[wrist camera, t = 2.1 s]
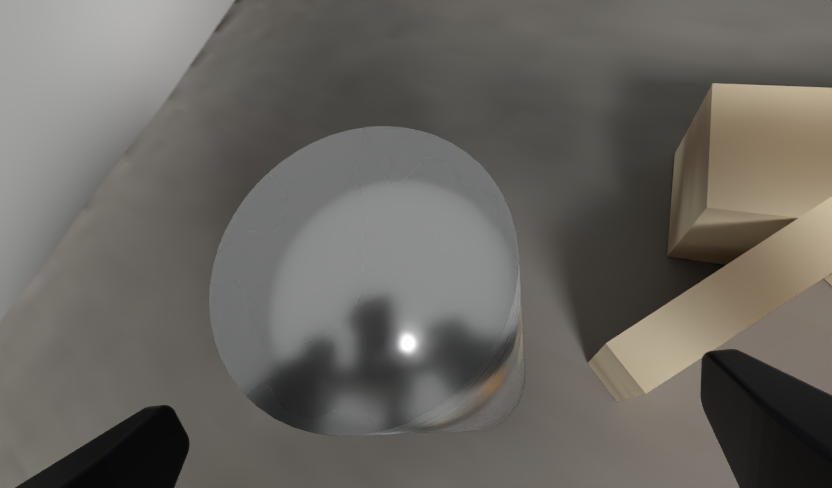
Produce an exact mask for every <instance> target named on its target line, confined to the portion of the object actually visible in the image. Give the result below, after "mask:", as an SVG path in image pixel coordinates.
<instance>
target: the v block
mask: <svg viewBox="0 0 832 488" xmlns="http://www.w3.org/2000/svg"><path fill="white" fill-rule="evenodd" d="M667 257H674V258H681V259H688V260H695V261H702V262H709V263H716V264H723V265H726V266H724V267H722V268H721V269H719V270H718V271H716V272H715V273H713V274H712V275H710V276H709V277H707V278H705V279H704V280H702V281H701V282H699V283H698V284H696V285H695V286H693V287H692V288H690V289H689V290H687V291H685V292H684V293H682V294H681V295H679V296H678V297H676V298H675V299H673V300H672V301H670V302H669V303H667V304H665V305H664V306H662V307H661V308H659V309H658V310H656V311H655V312H653V313H652V314H650V315H649V316H647V317H645V318H644V319H642V320H641V321H639V322H638V323H636V324H635V325H633V326H632V327H630V328H629V329H627V330H625V331H624V332H622V333H621V334H619V335H618V336H616V337H615V338H613V339H612V340H610V341H609V342H607V343H606V344H605V345H604V346H603V347H602V348H601V349H600V350H599V351H598V352H597V353H596V355H595V356H594V357H593V358H592V359H591V360H590V361H589V362H588V364H589V366H590V367H591V368H592V370H593V371H594V372H595V373H596V375H597V376H598V377H599V379H600V380H601V381H602V383H603V384H604V385H605V387H606V388H607V389H608V391H609V392H610V393H611V395H612V396H613V397H614V399H615V400H616V401H617V402H620V401H623V400H627V399H630V398H634V397H637V396H640V395H644V394H646V393H648V392H650V391H651V390H653V389H654V388H656V387H657V386H659V385H660V384H662V383H663V382H665V381H666V380H668V379H669V378H671V377H673V376H674V375H676V374H677V373H679V372H680V371H682V370H683V369H685V368H686V367H688V366H689V365H691V364H692V363H694V362H696V361H697V360H699V359H700V358H702V357H703V355H704V354H705V353H706V352H708V351H712V350H714V349H715V348H717V347H719V346H720V345H722V344H723V343H725V342H726V341H728V340H729V339H731V338H732V337H734V336H735V335H737V334H738V333H740V332H742V331H743V330H745V329H746V328H748V327H749V326H751V325H752V324H754V323H755V322H757V321H758V320H760V319H761V318H763V317H764V316H766V315H768V314H769V313H771V312H772V311H774V310H775V309H777V308H778V307H780V306H781V305H783V304H784V303H786V302H787V301H789V300H791V299H792V298H794V297H795V296H797V295H798V294H800V293H801V292H803V291H804V290H806V289H807V288H809V287H810V286H812V285H814V284H815V283H817V282H818V281H820V280H821V279H824V280H826V281H827V282H828V283H829V284H830V285H831V286H832V88H824V87H797V86H771V85H744V84H718V83H712V85H711V87H710V89H709V91H708V93H707V94H706V96H705V98H704V100H703V102H702V104H701V106H700V108H699V109H698V111H697V113H696V115H695V117H694V119H693V121H692V122H691V124H690V126H689V128H688V130H687V132H686V134H685V136H684V137H683V139H682V141H681V143H680V145H679V147H678V149H677V151H676V152H675V157H674V171H673V184H672V198H671V211H670V224H669V238H668V251H667Z"/></svg>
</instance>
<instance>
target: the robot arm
mask: <svg viewBox="0 0 832 488" xmlns="http://www.w3.org/2000/svg"><path fill="white" fill-rule="evenodd" d="M701 402H702V406H703V409H704V411H705V414H706V416H707V418H708V420H709V422H710V425H711V427H712V429H713V431H714V433H715V435H716V438H717V440H718V442H719V444H720V446H721V448H722V450H723V453H724V455H725V457H726V459H727V461H728V463H729V465H730V468H731V470H732V472H733V474H734V476H735V478H736V481H737V483H738V485H739V487H740V488H832V395H830V394H828V393H826V392H824V391H822V390H820V389H818V388H815V387H813V386H811V385H809V384H807V383H805V382H803V381H801V380H799V379H797V378H795V377H793V376H791V375H789V374H787V373H784V372H782V371H780V370H778V369H776V368H774V367H772V366H770V365H768V364H766V363H764V362H762V361H760V360H758V359H756V358H754V357H751V356H749V355H747V354H745V353H743V352H741V351H739V350H735V349H727V350H717V351H708V352H706V353H705V354H704V355H703V357H702V368H701ZM188 451H189V437H188V435H187V433H186V431H185V430H184V428H183V426H182V424H181V422H180V420H179V418H178V416H177V415H176V413H175V411H174V409H173V408H171V407H170V406H167V405H160V406H151V407H147V408H144V409H142V410H141V411H139V412H137V413H136V414H134V415H132V416H131V417H129V418H128V419H126V420H124V421H123V422H121V423H119V424H118V425H116V426H115V427H113V428H111V429H110V430H108V431H106V432H105V433H103V434H102V435H100V436H98V437H97V438H95V439H93V440H92V441H90V442H89V443H87V444H85V445H84V446H82V447H80V448H79V449H77V450H76V451H74V452H72V453H71V454H69V455H67V456H66V457H64V458H63V459H61V460H59V461H58V462H56V463H54V464H53V465H51V466H50V467H48V468H46V469H45V470H43V471H41V472H40V473H38V474H37V475H35V476H33V477H32V478H30V479H28V480H27V481H25V482H24V483H22V484H20V485H19V486H17V487H15V488H174V487H175V484H176V482H177V479H178V477H179V474H180V471H181V469H182V466H183V464H184V461H185V459H186V456H187V454H188Z"/></svg>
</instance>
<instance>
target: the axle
mask: <svg viewBox="0 0 832 488" xmlns="http://www.w3.org/2000/svg"><path fill="white" fill-rule="evenodd" d="M209 310H210V321H211V327H212V332H213V336H214V341H215V344H216V347H217V349H218V352H219V355H220V357H221V360H222V362H223V364H224V366H225V367H226V369H227V371H228V373H229V375H230V376H231V378H232V379H233V381H234V382H235V383H236V384H237V386H238V387H239V388H240V390H241V391H242V392H243V393H244V394H245V395H246V396H247V397H248V398H249V399H250V400H251V401H252V402H253V403H254V404H255V405H256V406H257V407H259V408H260V409H262V410H263V411H265V412H266V413H268V414H269V415H270V416H272V417H273V418H275V419H277V420H279V421H281V422H284V423H286V424H288V425H290V426H292V427H295V428H298V429H302V430H305V431H308V432H312V433H317V434H325V435H333V436H355V435H382V434H407V433H432V432H458V431H478V430H484V429H487V428H490V427H492V426H494V425H497V424H498V423H500V422H501V421H503V420H504V419H505V418H506V417H507V416H509V415H510V413H511V412H512V411H513V410H514V409H515V407H516V405H517V404H518V402H519V400H520V397H521V395H522V392H523V388H524V382H525V367H524V347H523V327H522V308H521V288H520V268H519V251H518V243H517V235H516V230H515V226H514V223H513V219H512V215H511V212H510V210H509V208H508V205H507V203H506V201H505V199H504V196H503V194H502V193H501V191H500V189H499V188H498V186H497V185H496V183H495V182H494V180H493V178H492V177H491V176H490V175H489V174H488V173H487V172H486V170H485V169H484V168H483V167H482V166H481V165H480V164H479V163H478V162H477V161H476V160H475V159H474V158H472V157H471V156H470V155H469V154H468V153H467V152H465V151H463V150H462V149H460V148H459V147H457V146H456V145H454V144H453V143H451V142H449V141H447V140H444V139H442V138H440V137H438V136H436V135H433V134H430V133H426V132H423V131H420V130H415V129H410V128H404V127H393V126H375V127H363V128H357V129H352V130H347V131H343V132H340V133H336V134H333V135H330V136H327V137H325V138H323V139H320V140H318V141H315V142H313V143H311V144H309V145H307V146H305V147H304V148H302V149H300V150H298V151H296V152H295V153H293V154H292V155H290V156H289V157H287V158H286V159H284V160H283V161H282V162H280V163H279V164H278V165H277V166H276V167H274V168H273V169H272V170H271V171H269V172H268V173H267V174H266V175H265V176H264V177H263V178H262V179H261V180H260V181H259V182H258V183H257V184H256V185H255V187H254V188H253V189H252V190H251V191H250V193H249V194H248V195H247V196H246V197H245V199H244V200H243V202H242V203H241V205H240V206H239V208H238V209H237V210H236V212H235V213H234V215H233V217H232V219H231V221H230V223H229V224H228V226H227V228H226V230H225V232H224V235H223V237H222V240H221V242H220V245H219V247H218V250H217V254H216V257H215V261H214V264H213V269H212V275H211V281H210V293H209Z"/></svg>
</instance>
